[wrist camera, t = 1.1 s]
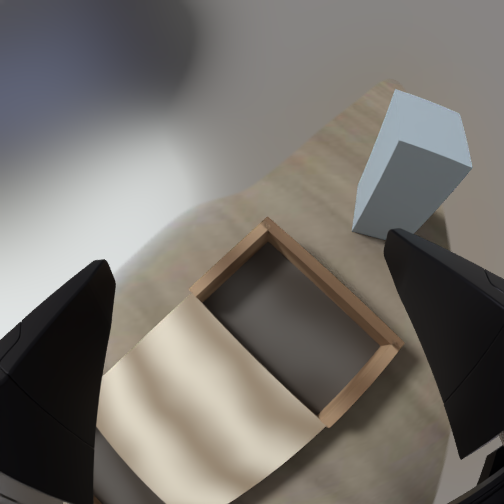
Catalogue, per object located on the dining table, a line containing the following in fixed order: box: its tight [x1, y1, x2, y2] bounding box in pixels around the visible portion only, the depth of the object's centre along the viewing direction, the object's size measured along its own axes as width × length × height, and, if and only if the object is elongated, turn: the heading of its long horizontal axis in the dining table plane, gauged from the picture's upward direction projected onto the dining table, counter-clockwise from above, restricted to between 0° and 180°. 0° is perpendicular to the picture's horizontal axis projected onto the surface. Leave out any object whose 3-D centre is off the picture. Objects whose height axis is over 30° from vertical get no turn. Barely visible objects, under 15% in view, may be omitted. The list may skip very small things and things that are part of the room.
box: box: [94, 217, 404, 504], centre depth 19 cm, size 30×14×3 cm, turn 134°
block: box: [352, 89, 472, 240], centre depth 20 cm, size 5×5×12 cm
